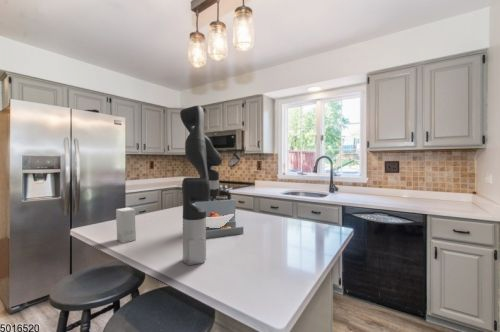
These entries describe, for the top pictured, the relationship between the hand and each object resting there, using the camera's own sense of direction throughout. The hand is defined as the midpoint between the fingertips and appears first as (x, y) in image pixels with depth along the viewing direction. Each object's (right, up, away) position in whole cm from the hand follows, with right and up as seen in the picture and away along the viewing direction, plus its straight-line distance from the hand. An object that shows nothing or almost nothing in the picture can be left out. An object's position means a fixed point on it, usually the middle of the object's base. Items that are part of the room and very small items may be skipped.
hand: (212, 216), depth 142 cm
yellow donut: (+9, -7, -9) cm, 14 cm away
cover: (+3, +4, -6) cm, 8 cm away
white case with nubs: (+5, -7, -11) cm, 14 cm away
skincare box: (-39, -7, -25) cm, 47 cm away
